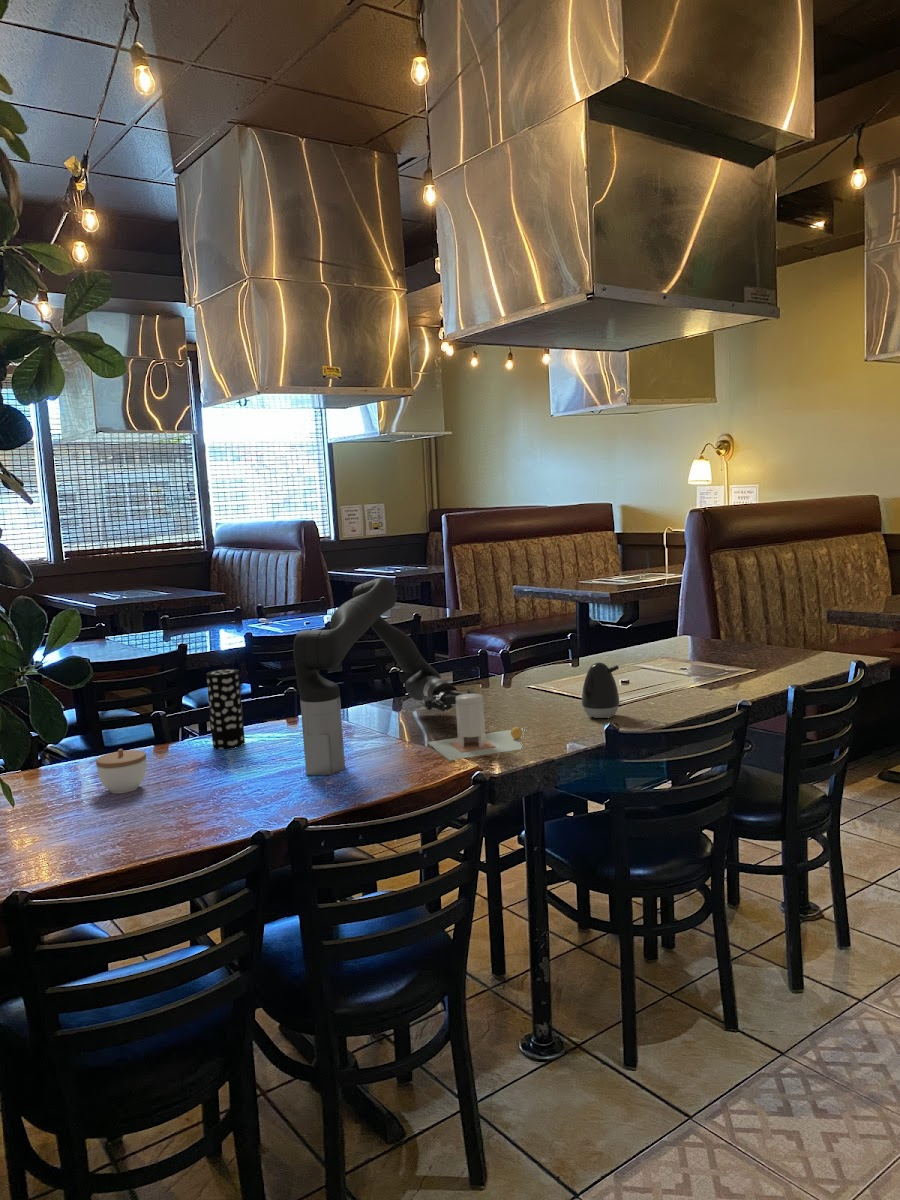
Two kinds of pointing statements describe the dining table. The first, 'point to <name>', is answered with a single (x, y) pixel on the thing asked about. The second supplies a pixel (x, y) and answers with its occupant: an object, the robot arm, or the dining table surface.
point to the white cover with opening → (470, 719)
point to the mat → (477, 746)
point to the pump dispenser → (600, 692)
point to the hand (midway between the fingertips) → (459, 705)
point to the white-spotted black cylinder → (225, 708)
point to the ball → (516, 733)
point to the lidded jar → (122, 770)
